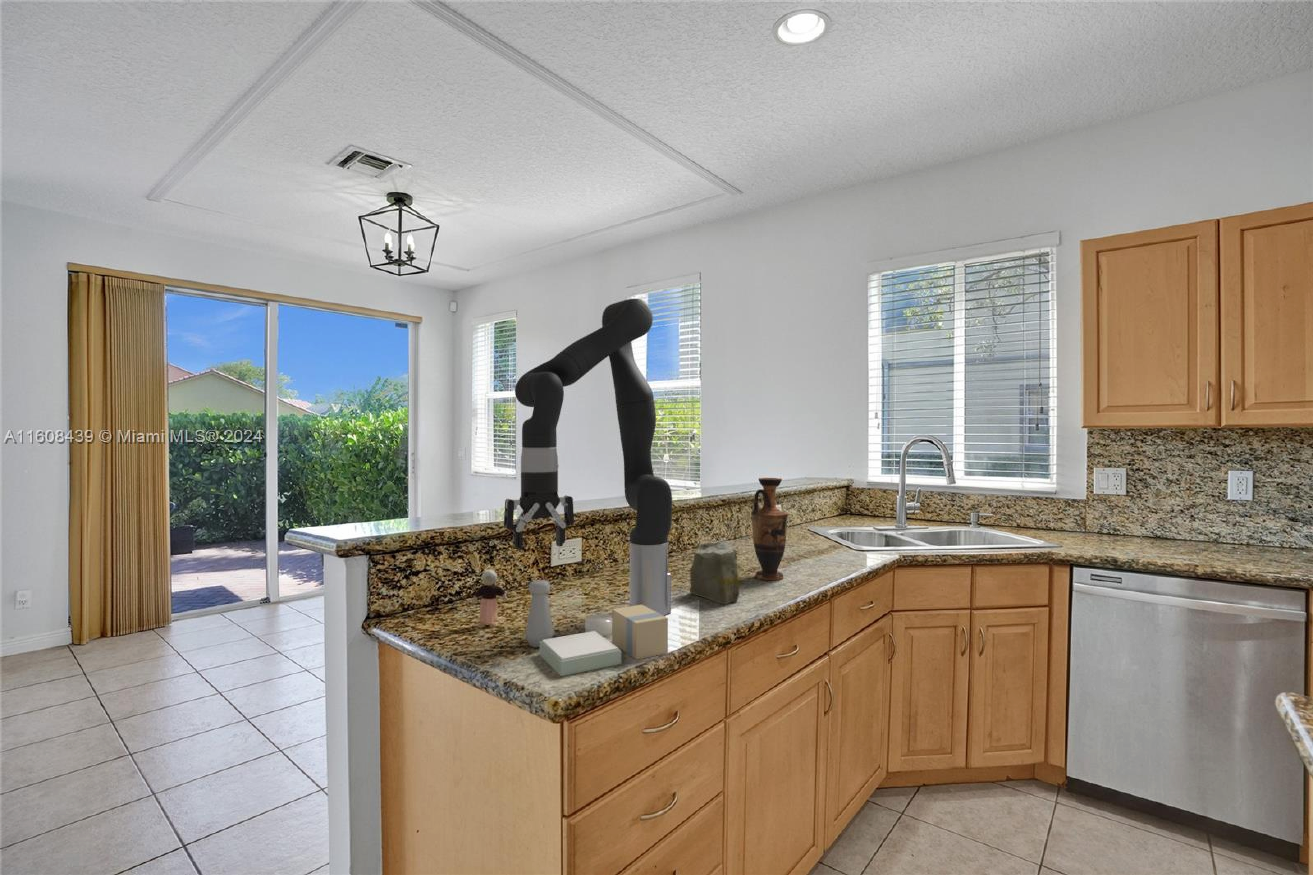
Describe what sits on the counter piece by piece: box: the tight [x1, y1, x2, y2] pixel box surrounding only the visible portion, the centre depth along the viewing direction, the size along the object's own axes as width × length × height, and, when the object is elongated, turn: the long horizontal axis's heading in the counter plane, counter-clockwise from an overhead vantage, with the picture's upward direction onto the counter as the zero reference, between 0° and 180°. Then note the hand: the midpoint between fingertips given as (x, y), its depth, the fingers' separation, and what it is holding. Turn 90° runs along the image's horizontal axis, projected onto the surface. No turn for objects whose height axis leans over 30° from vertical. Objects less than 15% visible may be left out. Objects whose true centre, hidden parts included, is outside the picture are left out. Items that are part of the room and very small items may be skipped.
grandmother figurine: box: [471, 569, 508, 629], centre depth 138 cm, size 8×4×13 cm, turn 112°
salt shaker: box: [525, 579, 555, 648], centre depth 126 cm, size 6×6×13 cm
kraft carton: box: [611, 605, 669, 661], centre depth 124 cm, size 7×11×7 cm, turn 29°
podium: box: [539, 631, 622, 677], centre depth 118 cm, size 12×12×3 cm
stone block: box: [689, 538, 740, 605], centre depth 163 cm, size 10×15×15 cm
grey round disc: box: [584, 613, 612, 638], centre depth 134 cm, size 6×6×3 cm
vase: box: [750, 477, 789, 581], centre depth 184 cm, size 11×11×30 cm
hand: (539, 547), depth 126 cm, fingers open, 8 cm apart
